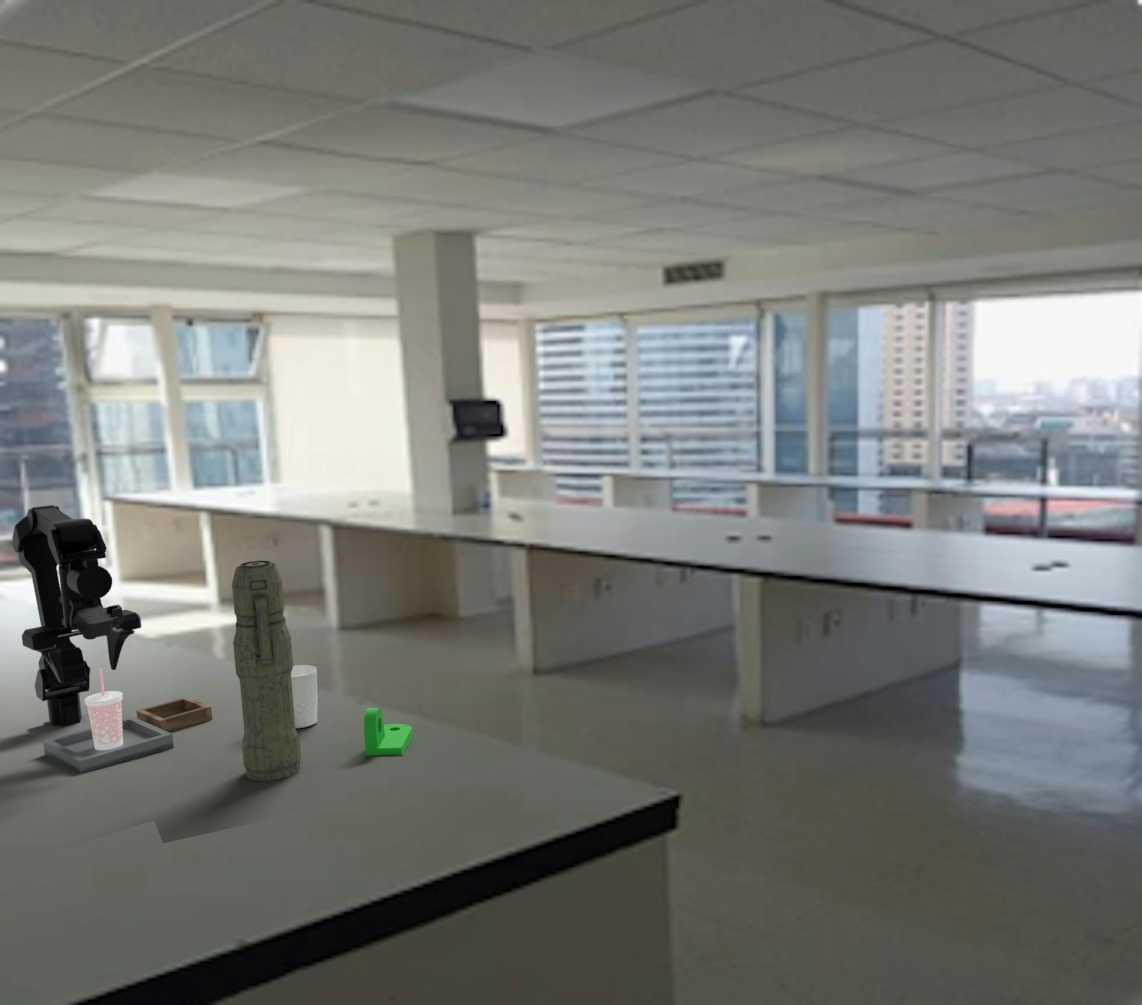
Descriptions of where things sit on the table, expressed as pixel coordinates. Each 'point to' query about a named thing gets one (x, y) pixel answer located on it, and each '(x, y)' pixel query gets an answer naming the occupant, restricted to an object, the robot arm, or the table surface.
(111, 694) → the beverage cup
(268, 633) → the thermos
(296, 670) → the white cup
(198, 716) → the square frame
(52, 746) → the tray
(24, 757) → the table surface
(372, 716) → the mechanical part
